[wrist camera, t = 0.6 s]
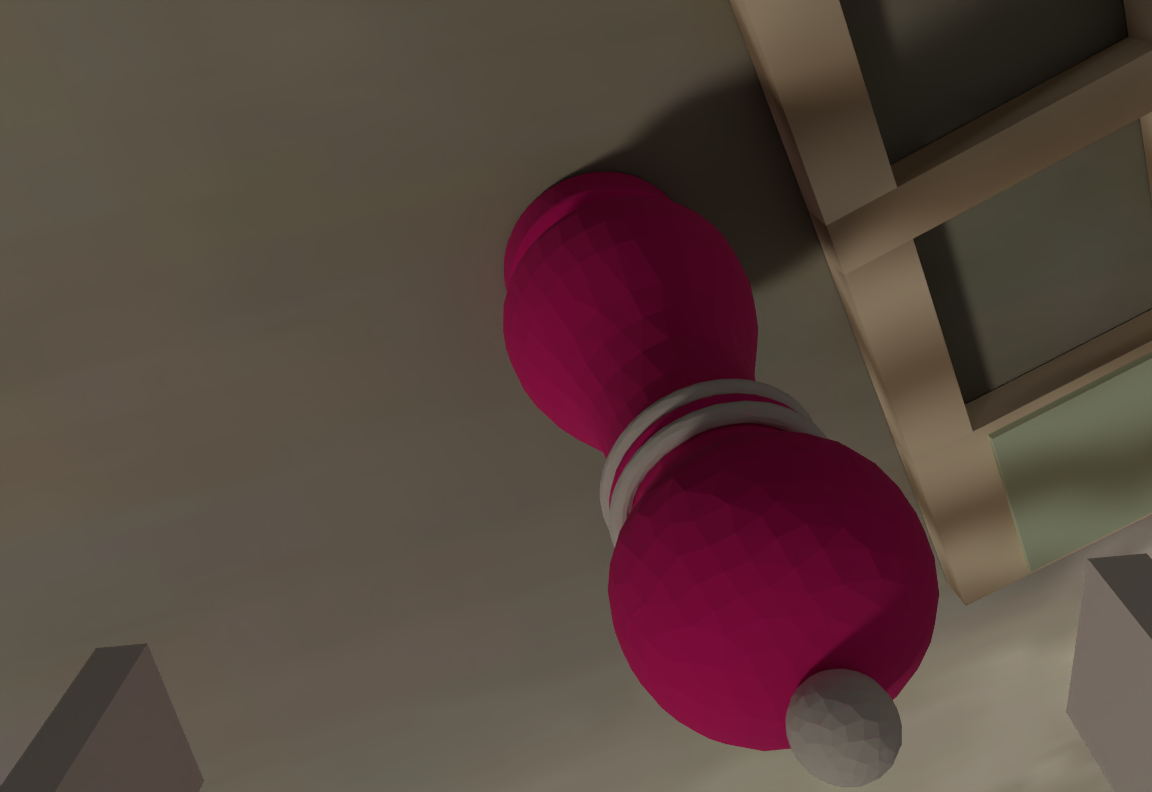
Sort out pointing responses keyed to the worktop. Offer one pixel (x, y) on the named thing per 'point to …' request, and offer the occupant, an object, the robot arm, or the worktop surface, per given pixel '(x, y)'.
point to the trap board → (908, 318)
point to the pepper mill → (717, 486)
